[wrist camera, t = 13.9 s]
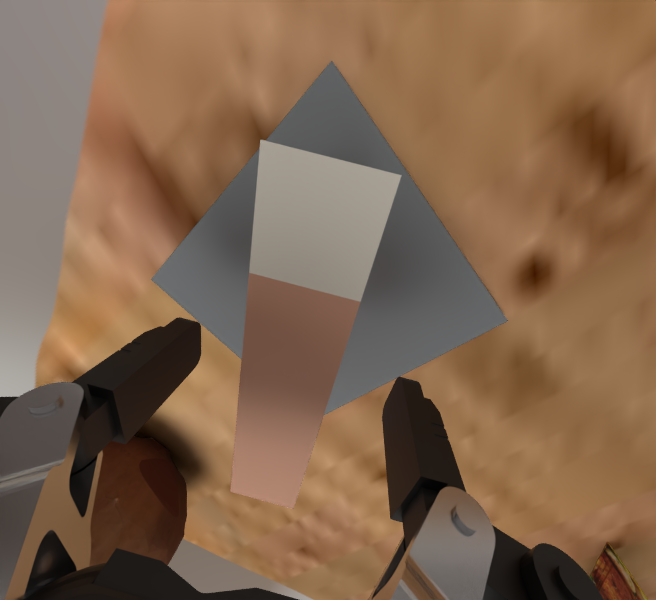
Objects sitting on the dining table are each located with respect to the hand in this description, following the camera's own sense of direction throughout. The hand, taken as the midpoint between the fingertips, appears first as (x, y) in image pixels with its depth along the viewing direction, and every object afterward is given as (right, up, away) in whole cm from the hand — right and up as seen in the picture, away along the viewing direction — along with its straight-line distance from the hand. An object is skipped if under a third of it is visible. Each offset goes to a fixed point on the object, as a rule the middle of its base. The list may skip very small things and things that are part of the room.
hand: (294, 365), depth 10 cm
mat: (+1, +3, +6) cm, 7 cm away
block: (-1, -5, +5) cm, 7 cm away
